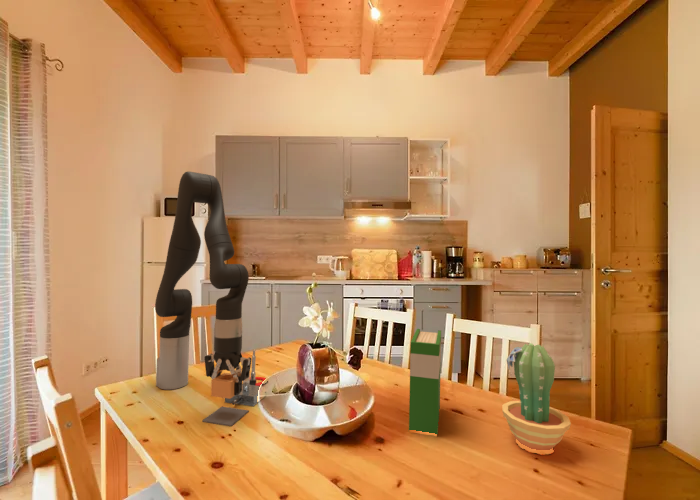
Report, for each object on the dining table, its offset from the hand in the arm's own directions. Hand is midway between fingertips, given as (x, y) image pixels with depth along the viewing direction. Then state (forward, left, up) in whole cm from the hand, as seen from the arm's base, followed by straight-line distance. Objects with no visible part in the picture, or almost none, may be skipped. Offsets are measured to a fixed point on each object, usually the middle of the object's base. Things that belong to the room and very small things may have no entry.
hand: (227, 392), depth 98 cm
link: (0, 0, 0) cm, 0 cm away
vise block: (-1, +11, -7) cm, 13 cm away
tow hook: (-5, +25, -7) cm, 27 cm away
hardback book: (+55, +15, -7) cm, 57 cm away
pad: (0, 0, -7) cm, 7 cm away
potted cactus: (+82, +9, -7) cm, 83 cm away
